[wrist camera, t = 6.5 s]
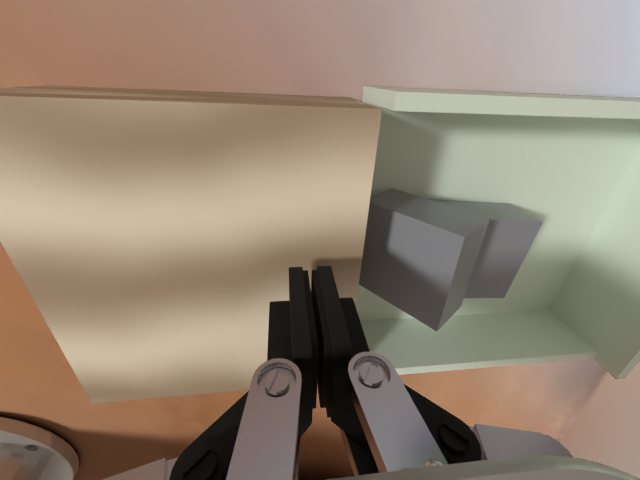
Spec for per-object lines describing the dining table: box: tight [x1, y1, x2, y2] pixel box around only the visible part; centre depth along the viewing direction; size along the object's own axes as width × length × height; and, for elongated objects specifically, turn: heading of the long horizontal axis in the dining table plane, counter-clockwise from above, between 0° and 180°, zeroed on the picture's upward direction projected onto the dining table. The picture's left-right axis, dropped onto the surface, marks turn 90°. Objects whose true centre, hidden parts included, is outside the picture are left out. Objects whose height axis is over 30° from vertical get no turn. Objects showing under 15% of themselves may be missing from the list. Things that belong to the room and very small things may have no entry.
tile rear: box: [430, 199, 543, 298], centre depth 17 cm, size 5×5×2 cm
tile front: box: [359, 188, 490, 331], centre depth 15 cm, size 5×5×2 cm
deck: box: [0, 86, 382, 404], centre depth 14 cm, size 14×13×5 cm
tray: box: [356, 86, 640, 379], centre depth 16 cm, size 15×17×6 cm
